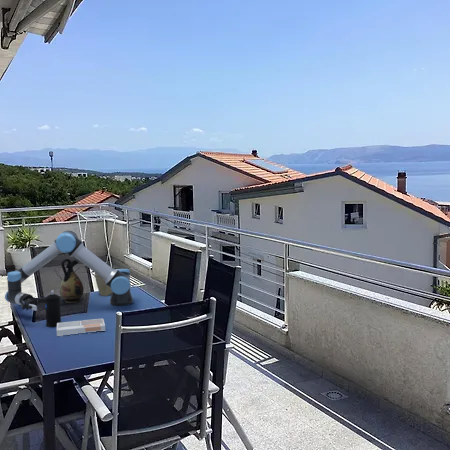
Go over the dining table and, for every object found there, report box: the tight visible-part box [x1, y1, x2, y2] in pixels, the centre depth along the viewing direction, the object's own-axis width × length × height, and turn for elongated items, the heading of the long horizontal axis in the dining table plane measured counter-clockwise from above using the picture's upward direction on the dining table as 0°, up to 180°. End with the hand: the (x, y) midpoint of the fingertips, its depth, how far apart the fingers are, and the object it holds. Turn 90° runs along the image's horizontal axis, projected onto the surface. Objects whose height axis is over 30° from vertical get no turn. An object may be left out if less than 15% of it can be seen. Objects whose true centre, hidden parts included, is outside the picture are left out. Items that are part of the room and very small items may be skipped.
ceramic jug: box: [59, 258, 85, 304], centre depth 306 cm, size 17×15×30 cm
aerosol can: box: [45, 290, 62, 328], centre depth 259 cm, size 8×8×20 cm
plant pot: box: [94, 272, 112, 297], centre depth 325 cm, size 15×15×16 cm
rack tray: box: [56, 318, 106, 337], centre depth 251 cm, size 25×13×4 cm, turn 109°
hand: (46, 305), depth 261 cm, fingers open, 13 cm apart
